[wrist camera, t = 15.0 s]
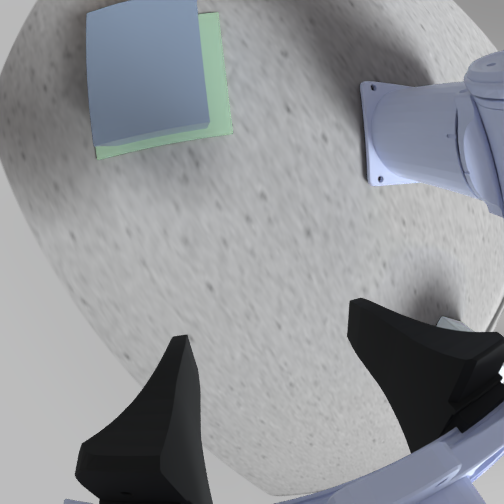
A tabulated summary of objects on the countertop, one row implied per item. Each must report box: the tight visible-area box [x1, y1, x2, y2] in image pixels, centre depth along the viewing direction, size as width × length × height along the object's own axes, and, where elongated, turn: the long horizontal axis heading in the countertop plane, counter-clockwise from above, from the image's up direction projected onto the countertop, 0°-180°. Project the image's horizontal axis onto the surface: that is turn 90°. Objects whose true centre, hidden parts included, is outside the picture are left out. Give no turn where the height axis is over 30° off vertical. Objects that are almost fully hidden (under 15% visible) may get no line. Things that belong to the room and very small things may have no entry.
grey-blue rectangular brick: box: [86, 0, 210, 146], centre depth 13 cm, size 6×8×5 cm
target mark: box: [95, 12, 233, 160], centre depth 16 cm, size 9×9×1 cm
